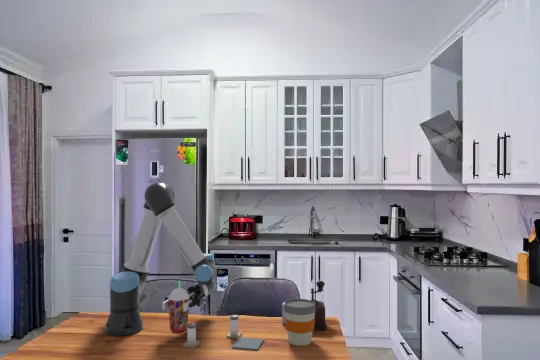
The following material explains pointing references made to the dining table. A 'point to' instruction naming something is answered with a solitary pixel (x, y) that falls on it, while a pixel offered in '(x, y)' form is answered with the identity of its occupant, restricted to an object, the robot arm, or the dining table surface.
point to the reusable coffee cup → (299, 321)
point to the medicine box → (283, 314)
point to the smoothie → (178, 310)
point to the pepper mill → (319, 309)
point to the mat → (248, 343)
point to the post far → (234, 327)
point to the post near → (191, 336)
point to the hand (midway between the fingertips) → (173, 306)
